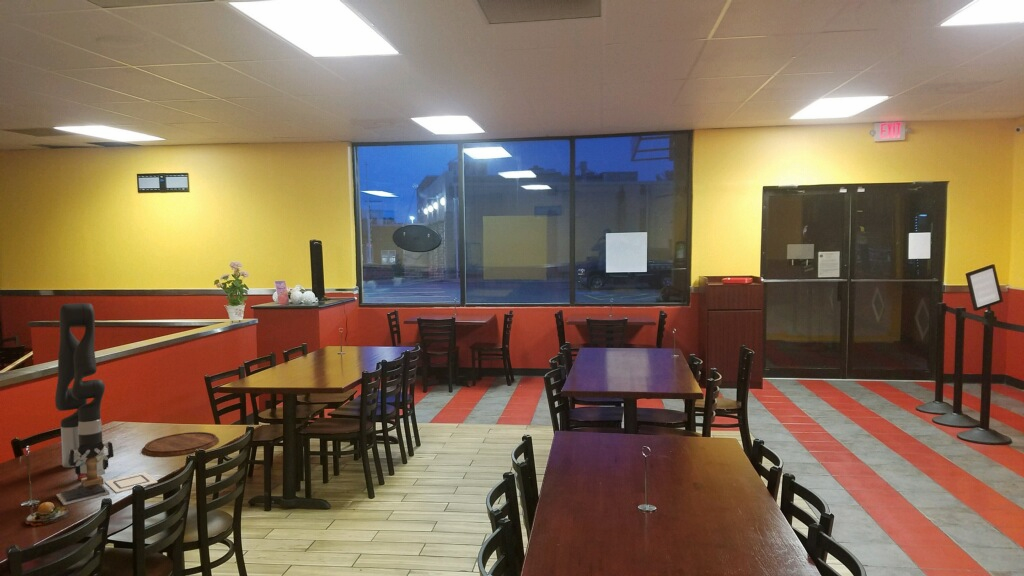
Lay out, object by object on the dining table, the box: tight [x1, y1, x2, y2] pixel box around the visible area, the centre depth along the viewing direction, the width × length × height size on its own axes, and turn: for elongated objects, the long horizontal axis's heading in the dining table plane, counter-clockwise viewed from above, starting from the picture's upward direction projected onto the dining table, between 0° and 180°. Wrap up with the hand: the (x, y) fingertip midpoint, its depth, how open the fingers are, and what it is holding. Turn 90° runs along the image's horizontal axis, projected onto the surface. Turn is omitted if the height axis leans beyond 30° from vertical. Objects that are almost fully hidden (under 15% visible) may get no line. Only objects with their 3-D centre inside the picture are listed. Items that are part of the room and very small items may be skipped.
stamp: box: [80, 457, 105, 487], centre depth 233 cm, size 6×6×11 cm
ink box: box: [76, 447, 106, 481], centre depth 242 cm, size 9×5×12 cm, turn 168°
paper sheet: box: [104, 471, 159, 494], centre depth 235 cm, size 16×14×1 cm
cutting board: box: [141, 431, 220, 458], centre depth 281 cm, size 32×32×3 cm
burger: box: [24, 501, 70, 527], centre depth 203 cm, size 12×12×8 cm
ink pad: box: [56, 484, 110, 506], centre depth 222 cm, size 12×14×1 cm
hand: (91, 472), depth 233 cm, fingers open, 8 cm apart
